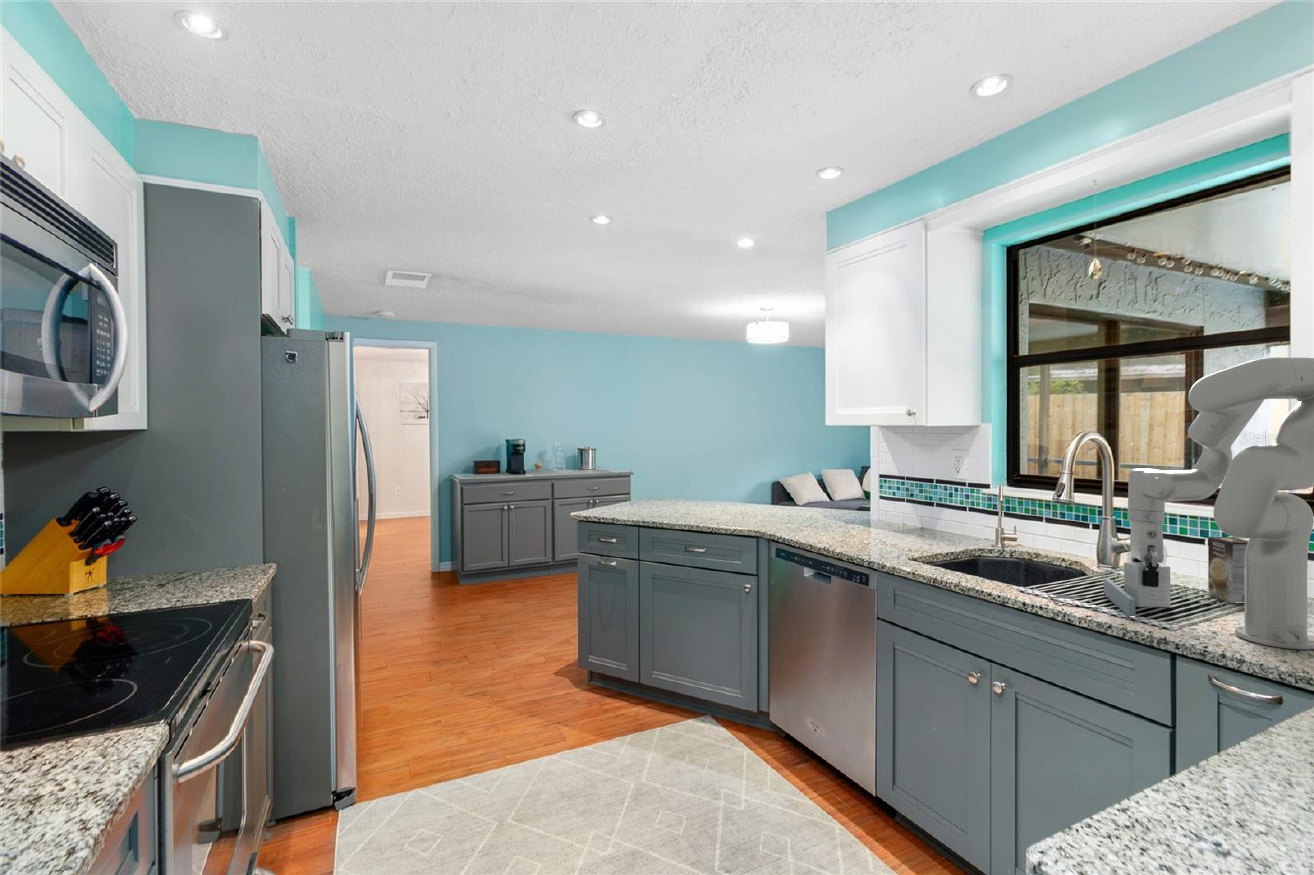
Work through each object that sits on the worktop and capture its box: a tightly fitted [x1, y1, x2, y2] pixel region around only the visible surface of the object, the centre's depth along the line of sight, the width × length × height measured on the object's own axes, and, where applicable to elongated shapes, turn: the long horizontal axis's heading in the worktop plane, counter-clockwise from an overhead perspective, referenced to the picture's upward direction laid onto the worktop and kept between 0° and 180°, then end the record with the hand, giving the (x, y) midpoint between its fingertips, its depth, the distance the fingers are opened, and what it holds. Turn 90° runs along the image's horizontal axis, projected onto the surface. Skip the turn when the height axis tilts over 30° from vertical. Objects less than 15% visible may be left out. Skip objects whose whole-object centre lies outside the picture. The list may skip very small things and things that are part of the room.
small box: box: [1123, 561, 1172, 608], centre depth 161 cm, size 8×6×10 cm
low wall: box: [1103, 577, 1136, 617], centre depth 160 cm, size 24×1×4 cm, turn 156°
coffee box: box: [1207, 536, 1249, 604], centre depth 165 cm, size 9×6×16 cm
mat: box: [1051, 594, 1093, 607], centre depth 164 cm, size 11×9×1 cm
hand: (1144, 581), depth 162 cm, fingers open, 9 cm apart
